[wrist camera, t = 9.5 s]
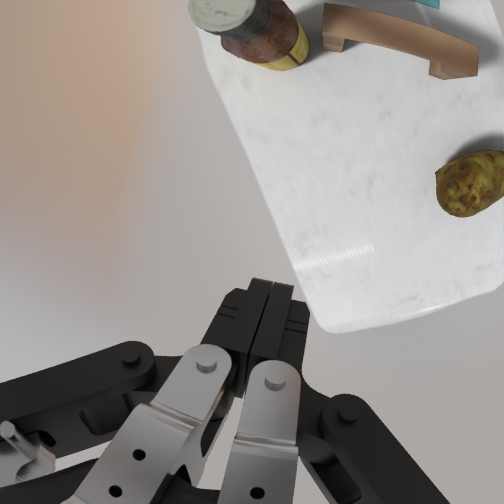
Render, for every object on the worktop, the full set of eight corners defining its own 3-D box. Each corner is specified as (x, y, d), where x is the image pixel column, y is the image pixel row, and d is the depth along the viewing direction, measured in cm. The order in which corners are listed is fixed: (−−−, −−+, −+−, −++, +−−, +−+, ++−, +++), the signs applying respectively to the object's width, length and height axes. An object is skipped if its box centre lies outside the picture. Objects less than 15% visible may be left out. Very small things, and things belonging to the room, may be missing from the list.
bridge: (325, 27, 26) (324, 3, 18) (445, 57, 24) (479, 47, 16) (323, 49, 27) (322, 32, 20) (443, 79, 25) (477, 76, 17)
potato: (500, 210, 30) (528, 235, 23) (420, 199, 33) (440, 224, 26) (509, 150, 26) (542, 165, 19) (426, 133, 29) (451, 143, 22)
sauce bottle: (285, 15, 26) (234, -64, 9) (321, 51, 28) (311, -7, 11) (243, 48, 29) (153, 5, 12) (277, 84, 31) (218, 66, 14)
